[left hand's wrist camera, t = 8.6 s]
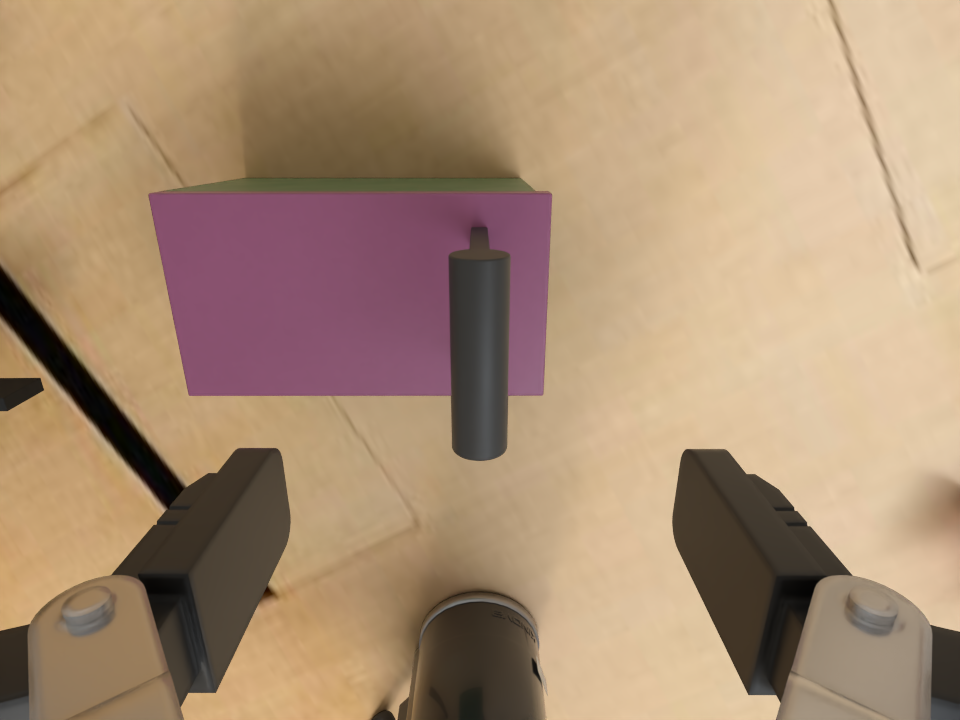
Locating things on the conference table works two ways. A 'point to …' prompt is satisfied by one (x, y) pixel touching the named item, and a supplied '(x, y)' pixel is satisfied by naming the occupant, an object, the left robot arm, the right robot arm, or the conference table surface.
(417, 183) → the chest
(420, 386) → the lid
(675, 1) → the conference table surface
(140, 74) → the conference table surface
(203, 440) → the conference table surface
